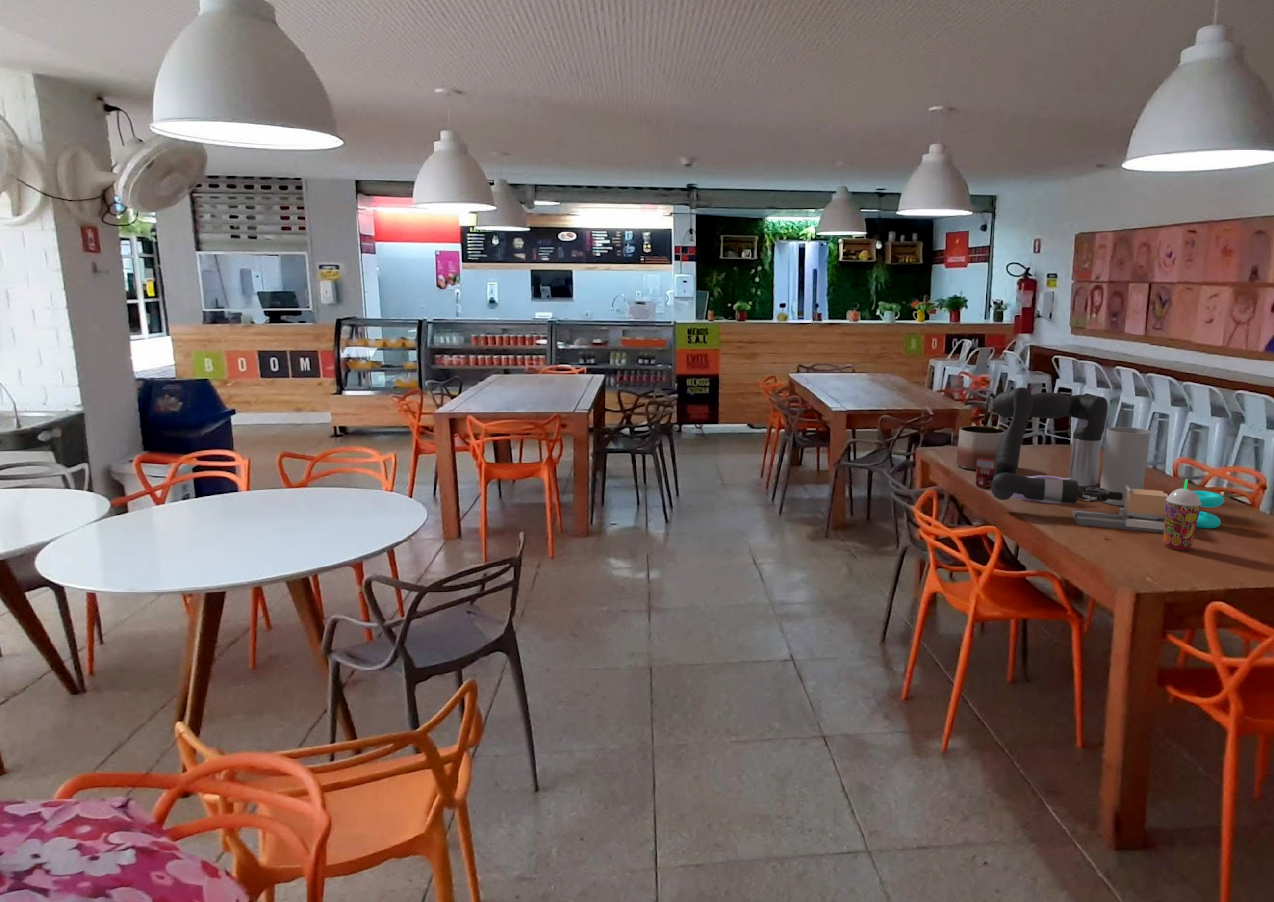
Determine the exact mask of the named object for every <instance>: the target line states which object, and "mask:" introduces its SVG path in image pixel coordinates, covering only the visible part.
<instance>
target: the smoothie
mask: <svg viewBox="0 0 1274 902" xmlns="http://www.w3.org/2000/svg"><path fill="white" fill-rule="evenodd" d="M1188 481H1189V479H1188V478H1185V480H1184V485H1183V487H1182V488H1177V489H1175V490H1173V491H1171V492H1170V493H1169V495H1168V498H1166V508H1165V524H1164V533H1163V542H1164V547H1166V548H1168V549H1170V548H1171V549H1170V550H1174V549H1175V550H1174V551H1181V550H1185V551H1188V550H1190V547H1192V546H1193V542H1194V538H1195V535H1196V534H1195V533H1196V529H1197V527H1196V525H1197V521H1198V516H1199V512H1201V508H1202V507H1201V504H1202V503H1201V502H1200V500H1199V497H1198V496H1197V494H1196V493H1195V492H1193V491H1194V490H1191V489H1189V488H1188Z"/></svg>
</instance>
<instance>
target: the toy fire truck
mask: <svg viewBox="0 0 1274 902" xmlns="http://www.w3.org/2000/svg"><path fill="white" fill-rule="evenodd" d="M976 466H977V471H976V472H975V474H976V475H975V485H976V488H979V489H984V488H986V487H988V486H987V485H989V488H990V489H991V488H992V481H993V478H994V473H995V461H993V460H986V459H980V458H979V459H977V461H976Z"/></svg>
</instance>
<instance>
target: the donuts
mask: <svg viewBox="0 0 1274 902" xmlns="http://www.w3.org/2000/svg"><path fill="white" fill-rule="evenodd" d="M1192 491H1193V492H1195V493H1196V494H1197V496H1198V497H1199V500H1200V502H1201V503H1202V504H1201V507H1200V508H1202V507H1203V508H1217V507H1220V506H1222V505H1223V504H1224V503H1225V497H1224V496H1223V495H1221V494H1220V493H1219V494H1218V493H1216V492H1212V491H1207V490H1206V491H1205V490H1192ZM1221 523H1222V522H1221V519H1220V517H1218V516H1217V515H1216V514H1213V513H1210V512H1205V511H1200V512H1199V516H1198V521H1197V525H1196V528H1200V529H1215V528H1218V527H1219V526H1221V525H1222V524H1221Z"/></svg>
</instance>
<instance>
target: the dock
mask: <svg viewBox="0 0 1274 902" xmlns="http://www.w3.org/2000/svg"><path fill="white" fill-rule="evenodd" d="M1165 495H1166V496H1167V498H1168V496H1169V495H1168V493H1165ZM1123 508H1124V507H1119V511H1118V513H1112V512H1100V511H1091V510H1081V509H1080V510H1078V509H1072V512H1073V513H1072V515H1074V516H1073V517H1074V520H1075V523H1077V524H1080V525H1079V526H1087V525H1090V526H1089V527H1098V528H1099V527H1100V528H1107V527H1109V529H1110V528H1111V529H1118V528H1119V529H1120V530H1130V531H1138V530H1141V531H1140V532H1142V531H1143V532H1148V531H1151V532H1152V533H1158V532H1161V534H1164V524H1165V519H1162V520H1163V522H1159V521H1156V520H1157V519H1158V518H1150V517H1139V516H1133V517H1134V519H1128V515H1126V514H1125V512H1124V510H1123ZM1077 524H1076V525H1077Z"/></svg>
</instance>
